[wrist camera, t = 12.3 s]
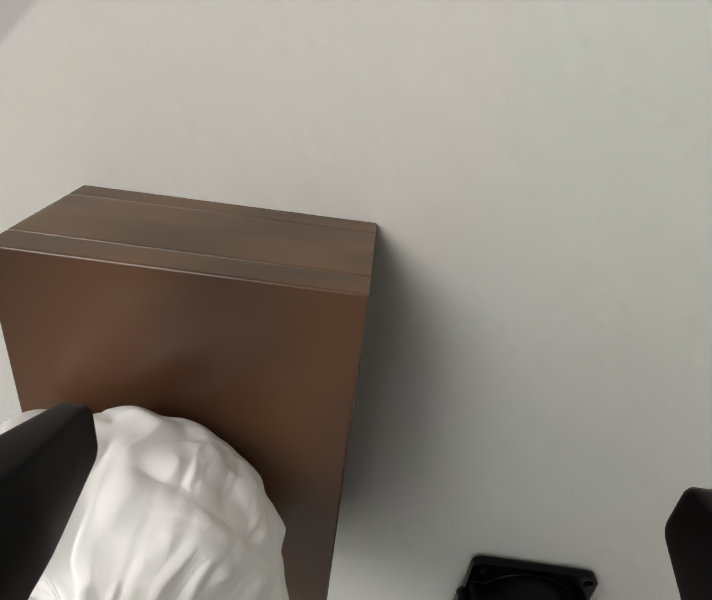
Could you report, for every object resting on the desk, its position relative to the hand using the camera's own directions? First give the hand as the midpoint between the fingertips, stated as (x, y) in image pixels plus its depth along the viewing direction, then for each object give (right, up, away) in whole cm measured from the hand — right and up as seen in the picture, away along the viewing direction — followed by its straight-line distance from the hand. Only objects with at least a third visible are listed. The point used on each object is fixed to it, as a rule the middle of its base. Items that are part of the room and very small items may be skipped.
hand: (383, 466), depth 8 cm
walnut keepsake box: (-6, 0, +16) cm, 17 cm away
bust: (-6, -3, +11) cm, 13 cm away
